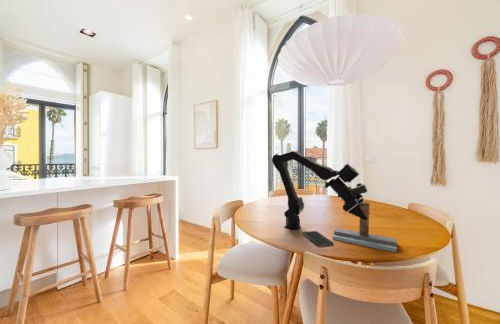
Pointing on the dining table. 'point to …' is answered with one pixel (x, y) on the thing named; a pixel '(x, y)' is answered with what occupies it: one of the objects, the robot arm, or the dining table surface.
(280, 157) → the robot arm
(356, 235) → the stand
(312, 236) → the phone
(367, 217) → the walnut dowel
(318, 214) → the dining table surface
